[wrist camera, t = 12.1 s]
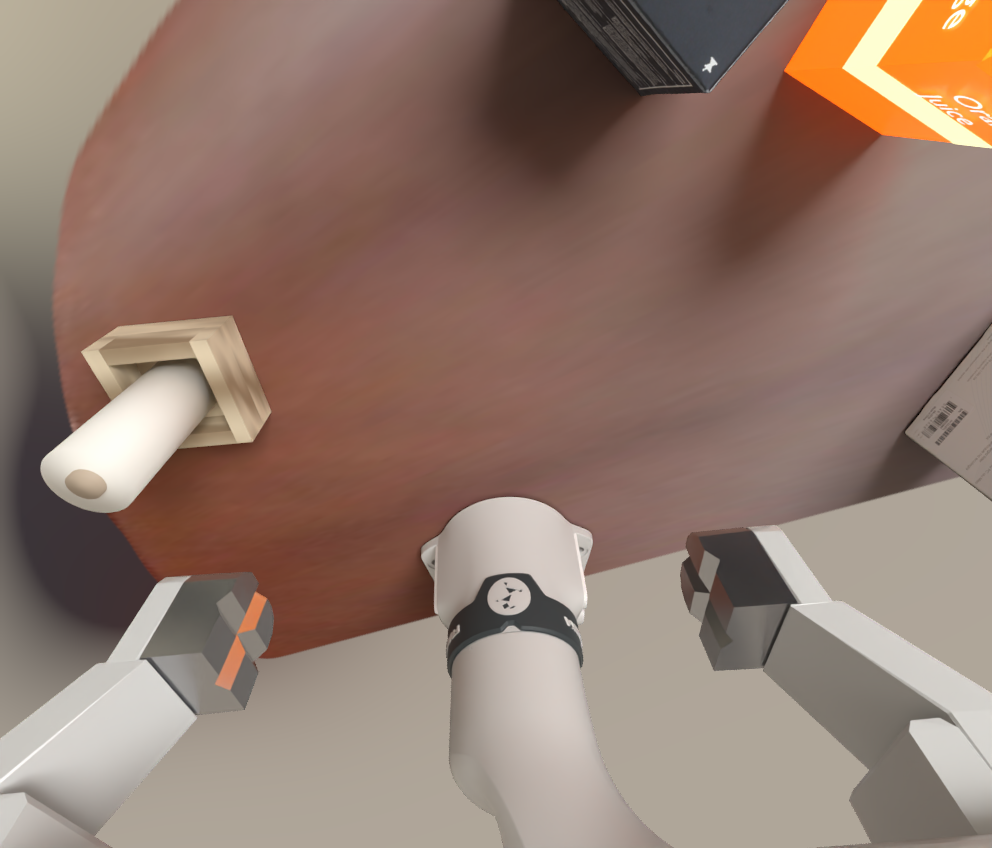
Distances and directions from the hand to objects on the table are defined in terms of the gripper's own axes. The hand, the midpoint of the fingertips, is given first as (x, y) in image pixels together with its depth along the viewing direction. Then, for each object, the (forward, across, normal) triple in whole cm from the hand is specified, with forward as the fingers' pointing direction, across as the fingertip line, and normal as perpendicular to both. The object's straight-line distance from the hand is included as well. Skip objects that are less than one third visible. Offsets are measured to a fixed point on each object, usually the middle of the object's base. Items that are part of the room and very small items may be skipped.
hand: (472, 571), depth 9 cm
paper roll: (+29, +24, +10) cm, 39 cm away
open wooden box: (+31, +24, +10) cm, 41 cm away
